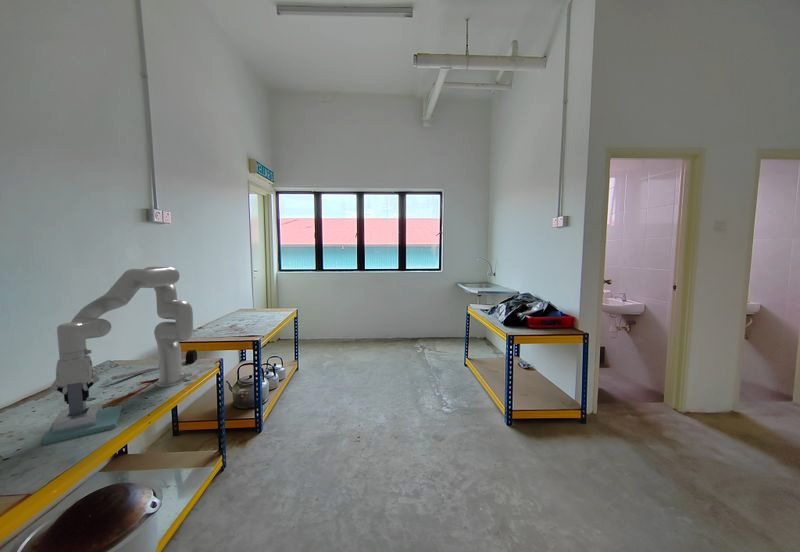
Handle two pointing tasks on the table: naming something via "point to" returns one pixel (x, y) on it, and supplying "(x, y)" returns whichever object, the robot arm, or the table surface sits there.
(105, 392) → the table surface
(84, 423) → the chuck block
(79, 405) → the key pin
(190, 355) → the tape measure
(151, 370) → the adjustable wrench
